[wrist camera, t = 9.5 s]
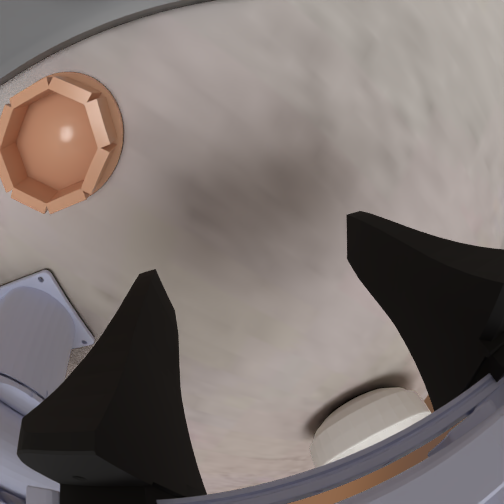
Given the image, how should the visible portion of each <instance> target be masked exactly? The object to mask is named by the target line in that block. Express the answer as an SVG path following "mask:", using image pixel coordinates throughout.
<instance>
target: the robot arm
mask: <svg viewBox="0 0 504 504" xmlns="http://www.w3.org/2000/svg"><path fill="white" fill-rule="evenodd" d="M347 259H348V261H349V263H350V265H351V266H352V268H353V270H354V271H355V273H356V275H357V276H358V278H359V279H360V281H361V282H362V283H363V285H364V286H365V287H366V288H367V290H368V291H369V292H370V293H371V295H372V296H373V297H374V298H375V300H376V301H377V302H378V304H379V305H380V306H381V307H382V309H383V310H384V311H385V312H386V314H387V315H388V316H389V318H390V319H391V320H392V322H393V323H394V325H395V326H396V328H397V330H398V331H399V333H400V335H401V337H402V338H403V340H404V342H405V344H406V345H407V347H408V349H409V351H410V353H411V355H412V357H413V359H414V361H415V363H416V365H417V367H418V370H419V372H420V374H421V377H422V379H423V381H424V383H425V386H426V389H427V391H428V394H429V397H430V400H431V402H432V405H433V408H434V412H433V413H431V414H430V415H428V416H426V417H425V418H423V419H421V420H420V421H418V422H416V423H414V424H413V425H411V426H409V427H407V428H405V429H403V430H402V431H400V432H398V433H396V434H394V435H392V436H390V437H388V438H386V439H384V440H382V441H380V442H378V443H376V444H374V445H371V446H369V447H367V448H365V449H363V450H360V451H358V452H356V453H353V454H351V455H349V456H346V457H344V458H341V459H339V460H336V461H334V462H331V463H328V464H326V465H323V466H320V467H317V468H314V469H311V470H308V471H305V472H302V473H299V474H296V475H293V476H289V477H286V478H283V479H279V480H275V481H272V482H268V483H264V484H260V485H256V486H251V487H247V488H242V489H237V490H232V491H227V492H221V493H215V494H208V495H207V493H206V490H205V488H204V485H203V482H202V479H201V476H200V473H199V470H198V466H197V463H196V459H195V456H194V452H193V449H192V445H191V441H190V437H189V432H188V428H187V423H186V419H185V414H184V408H183V403H182V397H181V388H180V369H179V340H178V329H177V322H176V316H175V310H174V308H173V306H172V304H171V302H170V300H169V298H168V296H167V293H166V291H165V289H164V287H163V285H162V283H161V281H160V278H159V276H158V274H157V272H156V269H154V270H151V271H148V272H144V273H141V274H139V276H138V277H137V279H136V280H135V282H134V284H133V285H132V287H131V289H130V290H129V292H128V294H127V296H126V297H125V299H124V301H123V302H122V304H121V306H120V307H119V309H118V311H117V312H116V314H115V316H114V317H113V319H112V320H111V322H110V323H109V325H108V326H107V328H106V329H105V331H104V333H103V334H102V336H101V337H100V338H99V340H98V341H97V343H96V344H95V345H94V347H93V348H92V349H91V350H90V352H89V353H88V354H87V356H86V357H85V358H84V359H83V360H82V362H81V363H80V364H79V365H78V366H77V367H76V368H75V370H74V371H73V372H72V373H71V374H70V375H69V376H68V378H67V379H66V380H65V376H66V371H67V366H68V362H69V357H70V353H71V349H74V348H79V347H83V346H88V345H92V344H94V341H95V338H94V337H93V335H92V334H91V333H90V331H89V330H88V328H87V327H86V326H85V324H84V323H83V321H82V320H81V319H80V317H79V316H78V314H77V313H76V311H75V310H74V308H73V307H72V305H71V304H70V302H69V301H68V299H67V298H66V296H65V295H64V293H63V291H62V290H61V288H60V287H59V285H58V283H57V282H56V280H55V278H54V277H53V275H52V273H51V272H50V271H48V270H42V271H40V272H37V273H34V274H32V275H29V276H26V277H24V278H21V279H18V280H16V281H13V282H11V283H8V284H5V285H3V286H0V504H287V503H291V502H294V501H298V500H301V499H304V498H307V497H311V496H314V495H317V494H320V493H322V492H325V491H328V490H331V489H334V488H336V487H339V486H341V485H344V484H347V483H349V482H351V481H354V480H356V479H358V478H361V477H363V476H365V475H368V474H370V473H372V472H374V471H376V470H378V469H380V468H383V467H385V466H387V465H389V464H390V463H392V462H394V461H396V460H398V459H400V458H402V457H404V456H406V455H408V454H409V453H411V452H413V451H415V450H416V449H418V448H420V447H422V446H423V445H425V444H427V443H428V442H430V441H431V440H433V439H435V438H436V437H438V436H439V435H441V434H442V433H444V432H445V431H447V430H448V429H450V428H451V427H453V426H454V425H456V424H457V423H459V422H460V421H461V420H463V419H464V418H466V417H467V418H466V419H465V420H463V421H462V422H461V423H460V424H458V425H457V426H456V427H455V428H453V429H452V430H451V431H450V432H449V433H448V434H447V436H446V437H445V438H444V439H443V440H442V441H441V442H440V443H439V444H438V445H437V446H436V447H435V448H433V449H432V450H431V451H430V452H429V453H428V457H429V458H427V459H425V460H424V461H422V462H420V463H418V464H417V465H415V466H413V467H411V468H409V469H408V470H406V471H404V472H402V473H400V474H398V475H396V476H395V477H393V478H391V479H389V480H387V481H385V482H383V483H380V484H379V485H377V486H374V487H372V488H370V489H368V490H366V491H363V492H361V493H359V494H357V495H354V496H352V497H350V498H347V499H345V500H342V501H340V502H337V503H335V504H504V250H502V249H492V248H485V247H479V246H474V245H468V244H463V243H459V242H455V241H451V240H447V239H443V238H439V237H436V236H433V235H430V234H427V233H424V232H421V231H418V230H415V229H412V228H409V227H406V226H404V225H401V224H398V223H395V222H393V221H390V220H387V219H385V218H382V217H379V216H376V215H373V214H370V213H366V212H362V211H359V212H355V213H351V214H348V215H347ZM40 277H42V278H43V279H41V278H40ZM84 340H85V341H84Z"/></svg>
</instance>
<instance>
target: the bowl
mask: <svg viewBox="0 0 504 504" xmlns="http://www.w3.org/2000/svg"><path fill="white" fill-rule="evenodd" d="M430 414H431V412H430V410H429V409H428V407H427V405H426V404H425V402H424V401H423V400H422V398H421V397H420V396H419V395H418V393H417V392H416V391H414V390H406V389H404V388H400V387H396V388H380V389H376V390H373V391H370V392H367V393H365V394H362V395H360V396H358V397H356V398H354V399H352V400H350V401H349V402H347V403H345V404H344V405H342V406H340V407H339V408H338V409H336V410H335V411H334V412H332V413H331V414H330V415H329V416H328V417H327V418H326V419H325V420H324V422H323V423H322V424H321V426H320V427H319V428H318V430H317V431H316V433H315V435H314V440H313V442H312V443H311V445H310V448H309V449H310V453H311V457H312V460H313V463H314V466H315V468H317V467H320V466H323V465H326V464H328V463H331V462H334V461H336V460H339V459H341V458H344V457H346V456H349V455H351V454H353V453H356V452H358V451H360V450H363V449H365V448H367V447H369V446H371V445H374V444H376V443H378V442H380V441H382V440H384V439H386V438H388V437H390V436H392V435H394V434H396V433H398V432H400V431H402V430H403V429H405V428H407V427H409V426H411V425H413V424H414V423H416V422H418V421H420V420H421V419H423V418H425V417H426V416H428V415H430Z"/></svg>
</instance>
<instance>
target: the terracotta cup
mask: <svg viewBox="0 0 504 504" xmlns="http://www.w3.org/2000/svg"><path fill="white" fill-rule="evenodd" d="M123 133H124V130H123V121H122V116H121V112H120V110H119V107H118V104H117V103H116V101H115V99H114V97H113V96H112V94H111V93H110V91H109V90H108V89H107V88H106V87H105V86H104V85H103V84H101V83H100V82H99V81H97V80H96V79H94V78H92V77H90V76H88V75H85V74H81V73H75V72H62V73H55V74H52V75H49V76H46V77H44V78H42V79H40V80H39V81H37V82H36V83H34V84H33V85H31V86H29V87H28V88H26V89H24V90H23V91H21V92H19V93H18V94H16V95H15V96H13V97H11V98H10V104H6V105H5V106H4V109H3V112H2V115H1V118H0V178H1V180H2V183H3V185H4V188H5V190H6V193H7V192H9V191H11V190H12V189H13V190H12V194H11V198H12V199H14V200H16V201H18V202H20V203H22V204H24V205H27V206H29V207H31V208H33V209H35V210H37V211H39V212H41V213H43V214H45V213H46V211H47V210H49V213H50V214H52V213H54V212H57V211H59V210H62V209H64V208H66V207H69V206H71V205H74V204H76V203H79V202H81V201H84V200H86V199H87V198H88V197H89V196H91V195H92V194H94V193H95V192H96V191H97V190H99V189H100V188H101V187H102V186H103V184H104V183H105V182H106V181H107V180H108V178H109V177H110V175H111V174H112V172H113V171H114V169H115V167H116V165H117V163H118V160H119V158H120V154H121V150H122V145H123Z"/></svg>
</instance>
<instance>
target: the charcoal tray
mask: <svg viewBox="0 0 504 504" xmlns="http://www.w3.org/2000/svg"><path fill="white" fill-rule="evenodd" d="M207 1H213V0H0V86H1V85H2V84H3V83H5V82H6V81H8V80H9V79H11V78H13V77H14V76H16V75H17V74H19V73H20V72H22V71H24V70H25V69H27V68H29V67H30V66H32V65H34V64H36V63H37V62H39V61H41V60H43V59H44V58H46V57H48V56H50V55H52V54H54V53H56V52H58V51H60V50H62V49H64V48H66V47H68V46H70V45H72V44H74V43H76V42H78V41H81V40H83V39H85V38H87V37H90V36H92V35H95V34H97V33H99V32H102V31H104V30H107V29H110V28H112V27H115V26H118V25H121V24H123V23H126V22H129V21H132V20H135V19H138V18H142V17H145V16H148V15H152V14H155V13H159V12H162V11H166V10H170V9H174V8H178V7H183V6H187V5H192V4H197V3H202V2H207Z"/></svg>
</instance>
